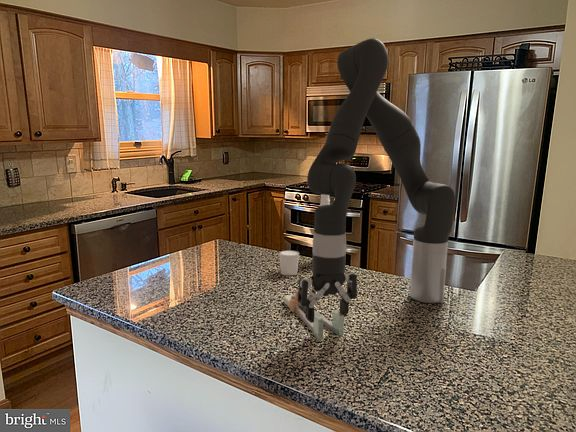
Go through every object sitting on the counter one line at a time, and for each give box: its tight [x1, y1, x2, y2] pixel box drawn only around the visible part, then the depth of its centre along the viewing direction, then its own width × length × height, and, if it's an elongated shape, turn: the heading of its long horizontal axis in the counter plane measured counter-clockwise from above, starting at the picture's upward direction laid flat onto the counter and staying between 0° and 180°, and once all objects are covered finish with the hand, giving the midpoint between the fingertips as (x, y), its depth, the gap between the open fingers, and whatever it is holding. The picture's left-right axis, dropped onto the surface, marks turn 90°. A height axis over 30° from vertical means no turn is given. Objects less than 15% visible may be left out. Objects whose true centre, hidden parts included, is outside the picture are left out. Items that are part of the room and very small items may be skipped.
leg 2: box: [299, 304, 345, 337], centre depth 108 cm, size 19×1×5 cm, turn 27°
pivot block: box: [283, 294, 300, 309], centre depth 118 cm, size 4×4×2 cm
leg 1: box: [294, 304, 324, 341], centre depth 106 cm, size 19×1×5 cm, turn 19°
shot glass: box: [278, 250, 300, 276], centre depth 144 cm, size 7×7×7 cm
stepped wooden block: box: [289, 289, 299, 313], centre depth 114 cm, size 2×5×5 cm, turn 113°
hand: (326, 318), depth 100 cm, fingers open, 8 cm apart
